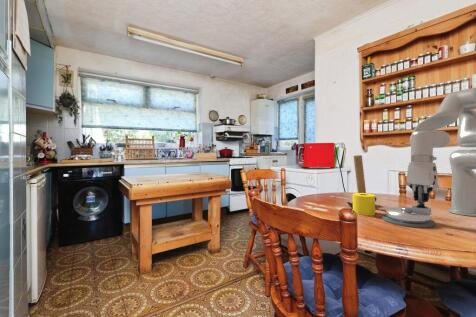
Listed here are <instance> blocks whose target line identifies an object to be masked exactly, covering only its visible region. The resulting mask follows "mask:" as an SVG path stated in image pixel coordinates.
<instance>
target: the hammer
mask: <svg viewBox="0 0 476 317" xmlns="http://www.w3.org/2000/svg"><path fill="white" fill-rule="evenodd" d="M352 157H353V164H354V171H355V179H356V180H355V181H356V190H357V193H367V190H366V189H367V188H366V181H365V172H364V163H363V155H361V154H356V155H353V156H352ZM376 201H377V197H376V196H375V202H376ZM346 203H347V204H348V207H349V208H351V209H353V202H350V201H349V202H348V201H346Z"/></svg>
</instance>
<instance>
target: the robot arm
mask: <svg viewBox="0 0 476 317" xmlns="http://www.w3.org/2000/svg"><path fill="white" fill-rule="evenodd" d="M475 109H476V87H472V88H467V89H461V90H457V91H456V90H455V91H452V92H450V93H448V94H447V95H446V96H445V97H444V99H443V100H442V102H441V103H440V104H439V106H438V109H437V110H436V112H435V113H434V114H432V115H430V116H428V117H427V118H425V119H423V121H421V122H419V123H418V124H417V125H416V126H415V128H414V129H413V131H412V132H411V135H410V136H409V144H410V162H409V163H408V167H407V173H406V181H405V183H404V185H406V186H407V187H409V188H410V189H411V190H412V192H413V200H414V201H415V202H417V197H418V185H423V186H424V193H422V202H425V203H427V202H428V203H429V200H430V193H431V192H433V191H434V190H437V189H440V185H439V184H438V183H439V176H438V170H437V164H436V162H434V161H436V160H437V159H438V158H437V156H434V149H438V148H439V149H441V148H445V147H447V146H448V145H449V144H450V143H451V135H450V134H449V133H448V132H446V131H444V130H439V129H442V128H445V127H448V126H450V125H452V124H454V123H456V122H457V120H458V122H459V123H458V128H457V135H456V144H457V146H459V147H460V148H461V147H462V148H472V149H457V150H454V151H452V152H451V153H450V154H449V164H450V170H451V207H448V208H447V213H448V212H449V213H451V214H454V215H455V214H456V215H460V216H466V217H467V216H469V217H476V172H475V171H474V170H476V110H475ZM473 148H475V149H473Z"/></svg>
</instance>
